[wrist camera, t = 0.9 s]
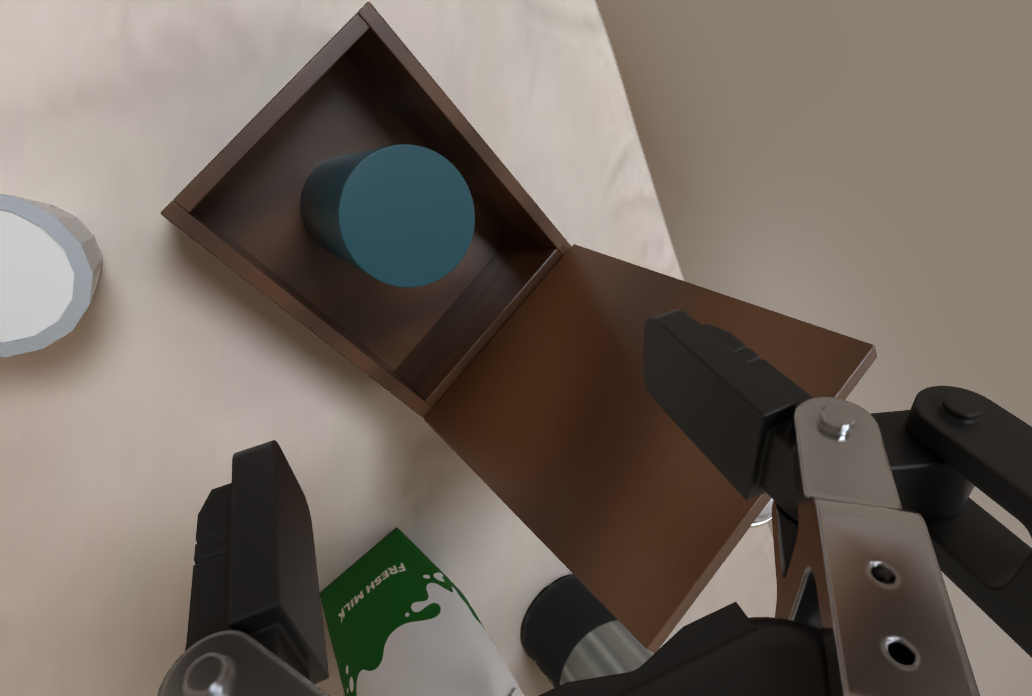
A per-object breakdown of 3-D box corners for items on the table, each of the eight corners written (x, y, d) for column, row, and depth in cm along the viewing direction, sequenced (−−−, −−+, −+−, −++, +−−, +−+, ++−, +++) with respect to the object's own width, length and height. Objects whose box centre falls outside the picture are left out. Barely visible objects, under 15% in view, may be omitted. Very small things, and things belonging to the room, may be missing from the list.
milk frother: (500, 653, 50) (597, 812, 38) (586, 495, 50) (712, 601, 38) (609, 672, 58) (721, 810, 45) (684, 534, 58) (817, 634, 45)
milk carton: (399, 510, 42) (524, 734, 25) (463, 579, 47) (607, 811, 29) (299, 595, 40) (361, 899, 23) (375, 659, 45) (475, 956, 28)
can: (277, 207, 33) (306, 219, 23) (348, 133, 34) (406, 111, 23) (356, 277, 36) (413, 315, 26) (420, 207, 37) (500, 217, 26)
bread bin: (170, 207, 31) (159, 213, 25) (339, 35, 33) (369, 0, 27) (391, 382, 40) (425, 419, 33) (518, 237, 41) (572, 247, 35)
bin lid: (646, 649, 19) (655, 654, 20) (875, 344, 21) (878, 356, 22) (423, 419, 33) (432, 425, 33) (573, 243, 34) (579, 252, 35)
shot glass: (143, 290, 32) (127, 315, 26) (4, 345, 30) (-49, 386, 24) (66, 167, 29) (27, 163, 23) (-94, 218, 27) (-183, 229, 21)
